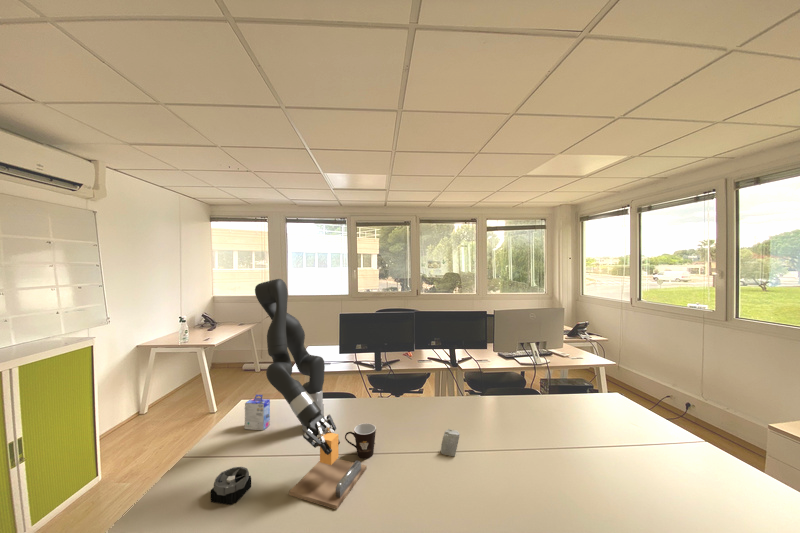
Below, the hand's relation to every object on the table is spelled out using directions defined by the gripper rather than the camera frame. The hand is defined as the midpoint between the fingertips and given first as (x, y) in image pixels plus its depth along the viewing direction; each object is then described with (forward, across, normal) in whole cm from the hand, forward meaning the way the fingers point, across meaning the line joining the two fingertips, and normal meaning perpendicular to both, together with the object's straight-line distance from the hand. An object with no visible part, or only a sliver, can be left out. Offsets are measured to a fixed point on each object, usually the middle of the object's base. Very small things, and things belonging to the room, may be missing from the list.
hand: (334, 448), depth 103 cm
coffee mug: (+9, +18, +7) cm, 22 cm away
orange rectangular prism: (+2, 0, +4) cm, 5 cm away
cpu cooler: (-12, -15, +30) cm, 35 cm away
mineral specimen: (+32, +31, -16) cm, 48 cm away
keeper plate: (+7, 0, +9) cm, 12 cm away
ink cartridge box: (-30, +20, +47) cm, 60 cm away
